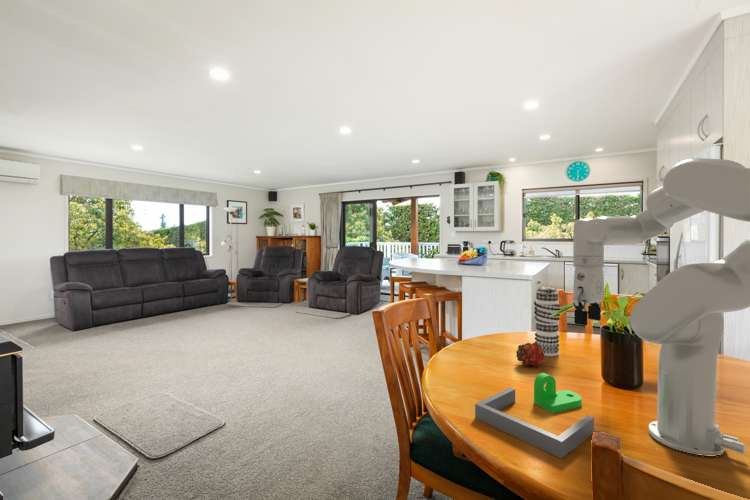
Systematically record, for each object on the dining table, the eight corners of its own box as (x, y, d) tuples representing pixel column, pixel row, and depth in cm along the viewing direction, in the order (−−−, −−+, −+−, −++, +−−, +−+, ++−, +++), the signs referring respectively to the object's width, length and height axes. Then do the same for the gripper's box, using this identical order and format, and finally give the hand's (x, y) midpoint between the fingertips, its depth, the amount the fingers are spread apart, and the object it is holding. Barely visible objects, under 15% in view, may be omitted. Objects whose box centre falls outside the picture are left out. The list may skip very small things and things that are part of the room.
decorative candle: (548, 357, 131) (548, 290, 130) (528, 350, 140) (528, 287, 139) (565, 354, 135) (566, 288, 134) (545, 347, 144) (545, 285, 143)
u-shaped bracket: (593, 432, 81) (594, 417, 81) (561, 458, 72) (562, 441, 72) (510, 399, 98) (510, 387, 98) (475, 417, 89) (475, 403, 89)
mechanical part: (551, 414, 91) (552, 383, 90) (533, 403, 96) (534, 374, 96) (586, 406, 95) (587, 376, 94) (567, 396, 100) (568, 368, 100)
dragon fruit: (517, 373, 121) (537, 370, 128) (537, 363, 116) (557, 361, 123) (506, 348, 126) (526, 347, 133) (525, 339, 120) (545, 338, 127)
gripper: (589, 264, 94) (589, 329, 95) (614, 261, 105) (613, 319, 105) (560, 262, 100) (560, 324, 101) (586, 260, 111) (586, 315, 111)
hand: (587, 321), depth 103 cm, fingers open, 8 cm apart
